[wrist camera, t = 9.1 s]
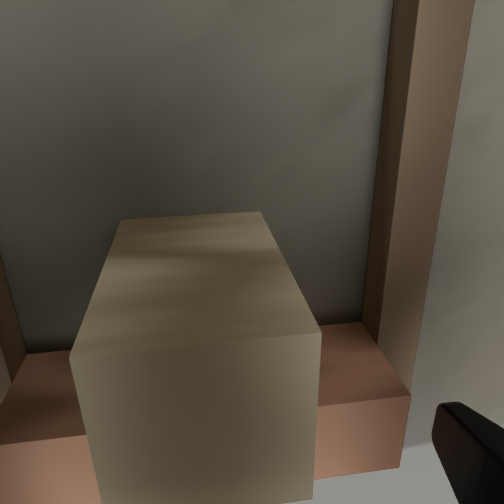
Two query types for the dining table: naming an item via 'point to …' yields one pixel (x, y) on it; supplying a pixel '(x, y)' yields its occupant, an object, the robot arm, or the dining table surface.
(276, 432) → the block
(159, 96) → the dining table surface
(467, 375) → the dining table surface
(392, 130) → the guide track
